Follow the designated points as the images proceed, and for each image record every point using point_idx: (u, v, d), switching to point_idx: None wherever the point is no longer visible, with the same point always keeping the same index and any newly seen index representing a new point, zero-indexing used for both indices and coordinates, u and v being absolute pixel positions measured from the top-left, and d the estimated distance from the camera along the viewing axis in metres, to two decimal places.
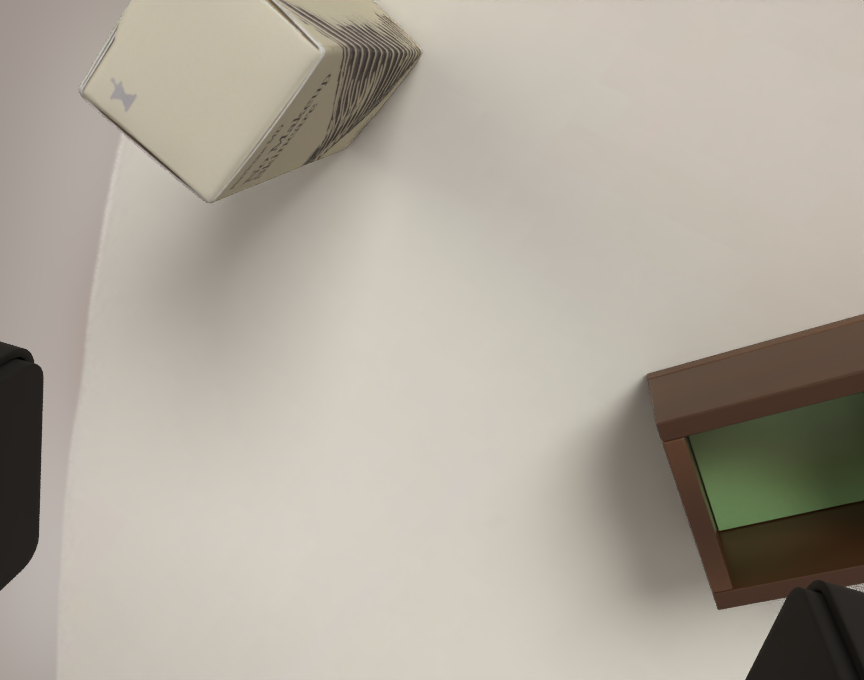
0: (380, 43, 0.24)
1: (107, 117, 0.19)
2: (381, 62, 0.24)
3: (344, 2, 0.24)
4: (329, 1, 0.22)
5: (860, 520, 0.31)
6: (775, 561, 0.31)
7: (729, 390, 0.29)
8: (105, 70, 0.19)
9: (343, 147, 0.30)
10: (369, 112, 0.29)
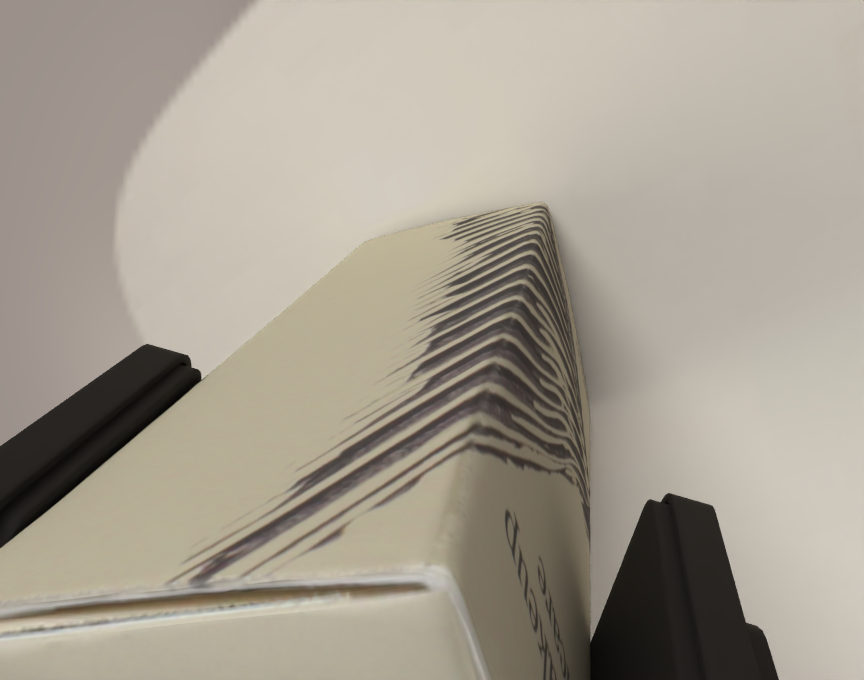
0: (501, 284, 0.11)
1: None
2: (533, 304, 0.11)
3: (391, 289, 0.12)
4: (365, 331, 0.10)
5: None
6: None
7: None
8: None
9: (589, 418, 0.17)
10: (574, 350, 0.15)
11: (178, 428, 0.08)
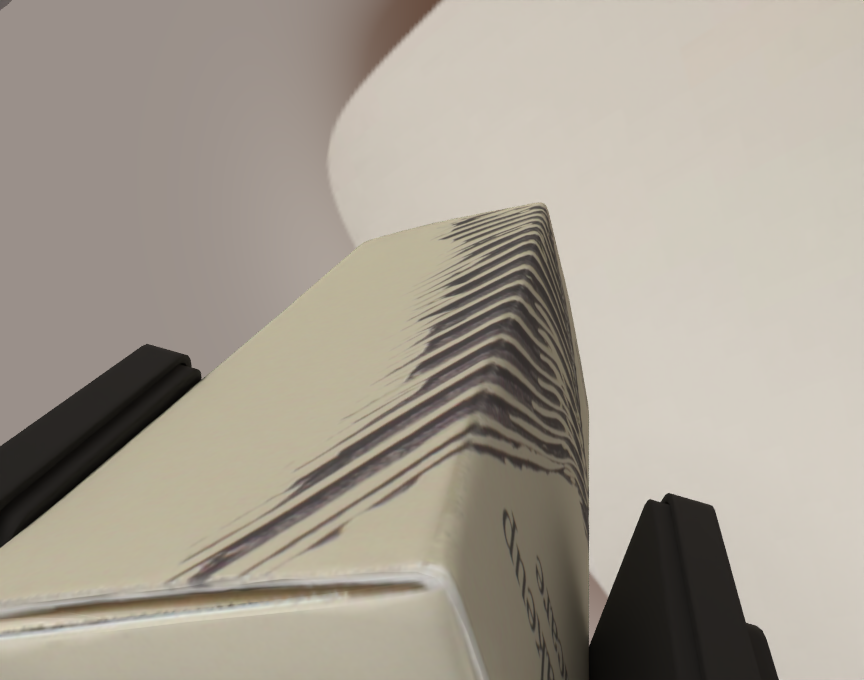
0: (500, 284, 0.11)
1: None
2: (532, 305, 0.11)
3: (390, 290, 0.12)
4: (364, 331, 0.10)
5: None
6: None
7: None
8: None
9: (588, 418, 0.17)
10: (572, 350, 0.16)
11: (177, 427, 0.08)
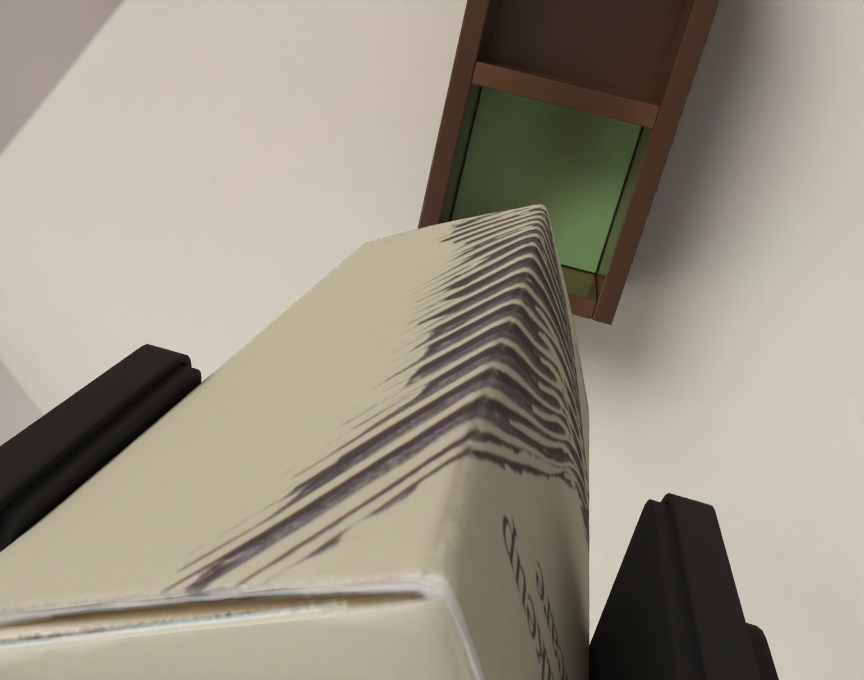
0: (500, 287, 0.11)
1: None
2: (532, 308, 0.11)
3: (390, 293, 0.12)
4: (364, 334, 0.10)
5: (635, 158, 0.31)
6: (610, 251, 0.32)
7: None
8: None
9: (588, 421, 0.17)
10: (573, 352, 0.15)
11: (176, 432, 0.08)
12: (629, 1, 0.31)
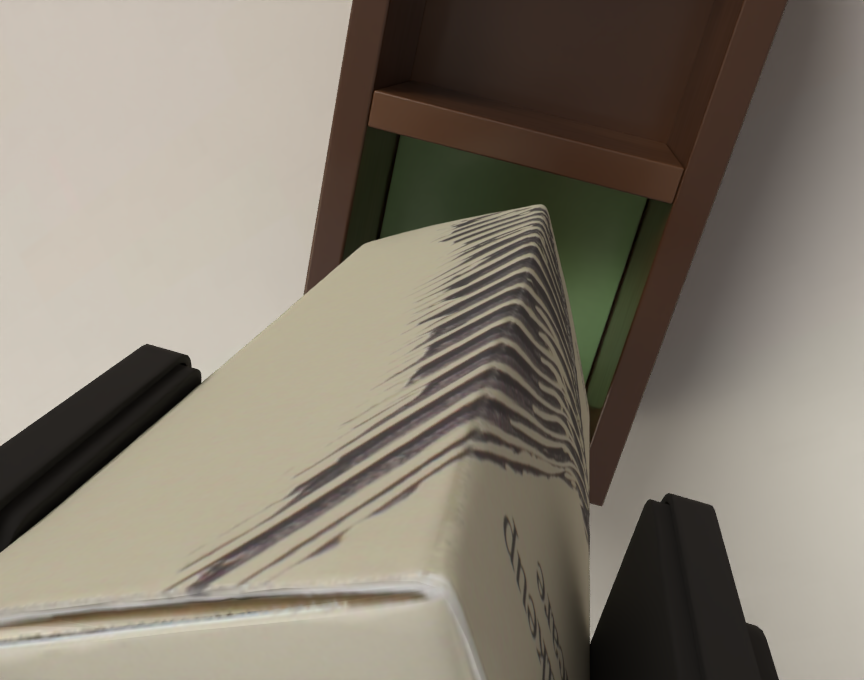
0: (500, 287, 0.11)
1: None
2: (532, 308, 0.11)
3: (390, 293, 0.12)
4: (364, 334, 0.10)
5: (641, 241, 0.20)
6: (600, 387, 0.20)
7: None
8: None
9: None
10: (573, 352, 0.15)
11: (177, 433, 0.08)
12: None
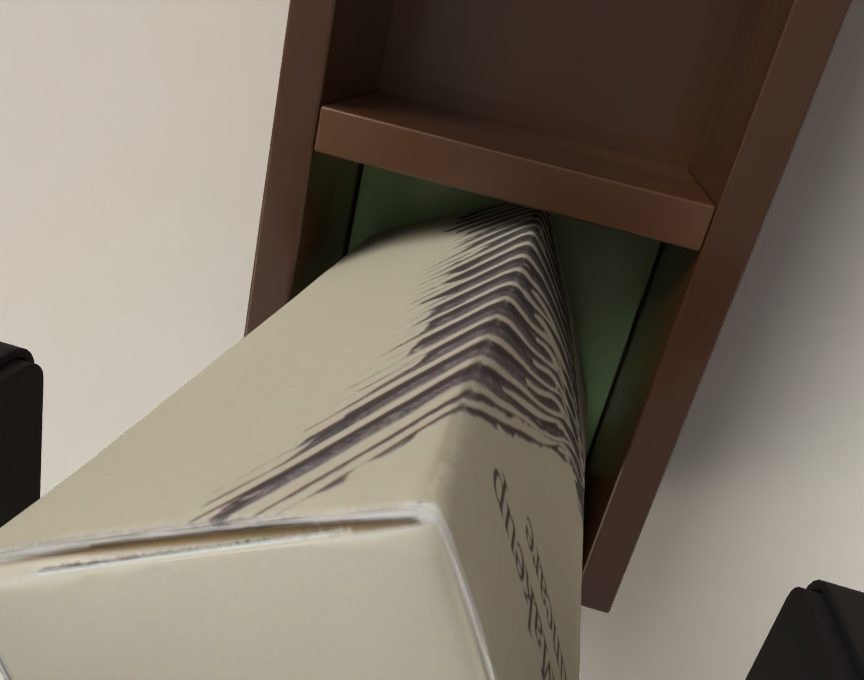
0: (498, 271, 0.11)
1: None
2: (528, 291, 0.12)
3: (394, 277, 0.12)
4: (369, 313, 0.11)
5: (657, 288, 0.16)
6: (607, 467, 0.16)
7: None
8: None
9: (586, 406, 0.17)
10: (571, 339, 0.16)
11: (195, 399, 0.09)
12: None
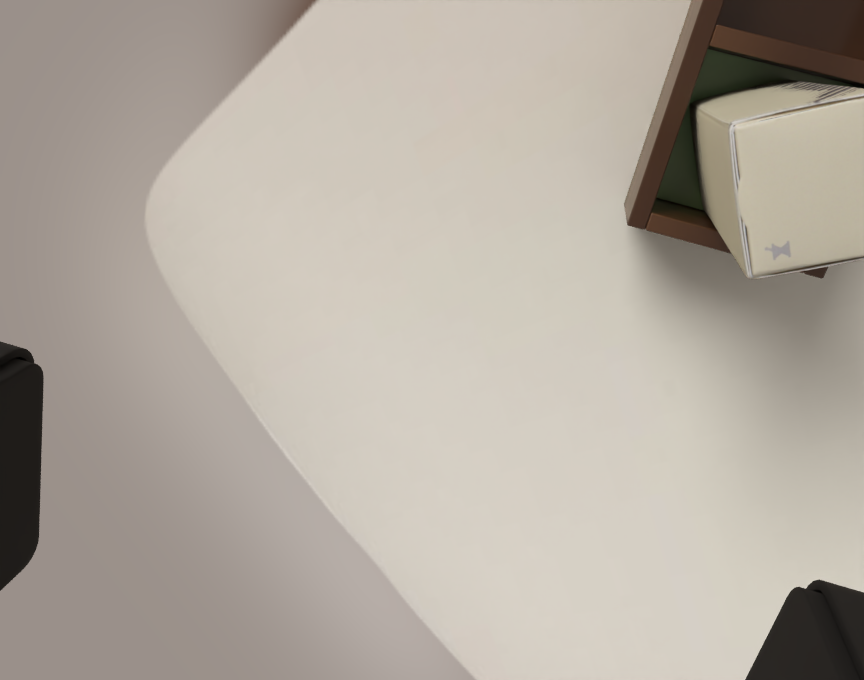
0: (815, 84, 0.28)
1: (778, 273, 0.25)
2: None
3: (760, 94, 0.30)
4: (774, 95, 0.28)
5: None
6: None
7: (646, 158, 0.34)
8: (756, 248, 0.24)
9: None
10: None
11: (738, 110, 0.26)
12: None
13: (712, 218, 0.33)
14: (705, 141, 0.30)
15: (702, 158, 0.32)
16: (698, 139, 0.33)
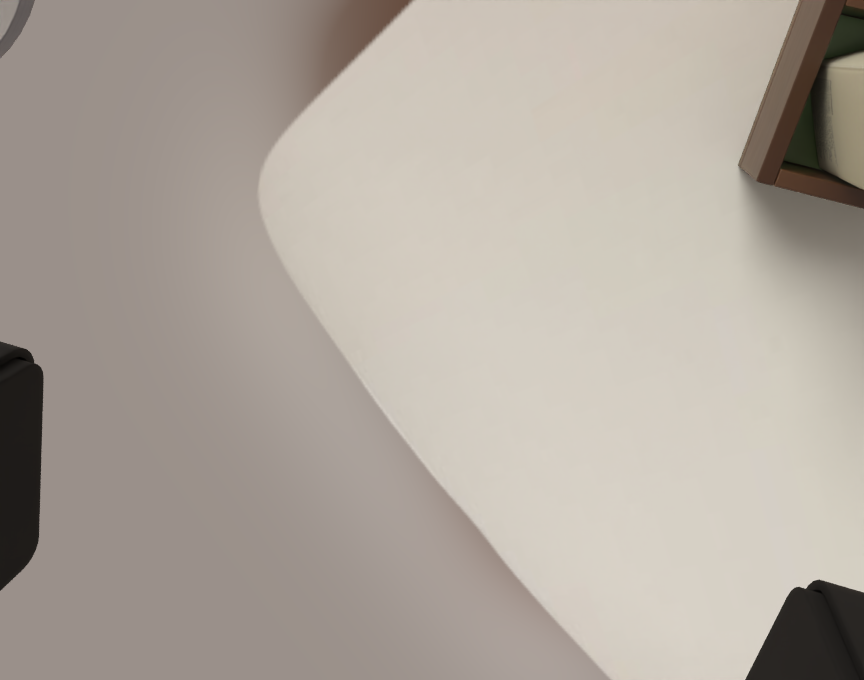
0: None
1: None
2: None
3: None
4: None
5: None
6: None
7: (774, 116, 0.35)
8: None
9: None
10: None
11: None
12: None
13: (842, 172, 0.34)
14: (847, 95, 0.31)
15: (835, 114, 0.33)
16: (828, 96, 0.34)
